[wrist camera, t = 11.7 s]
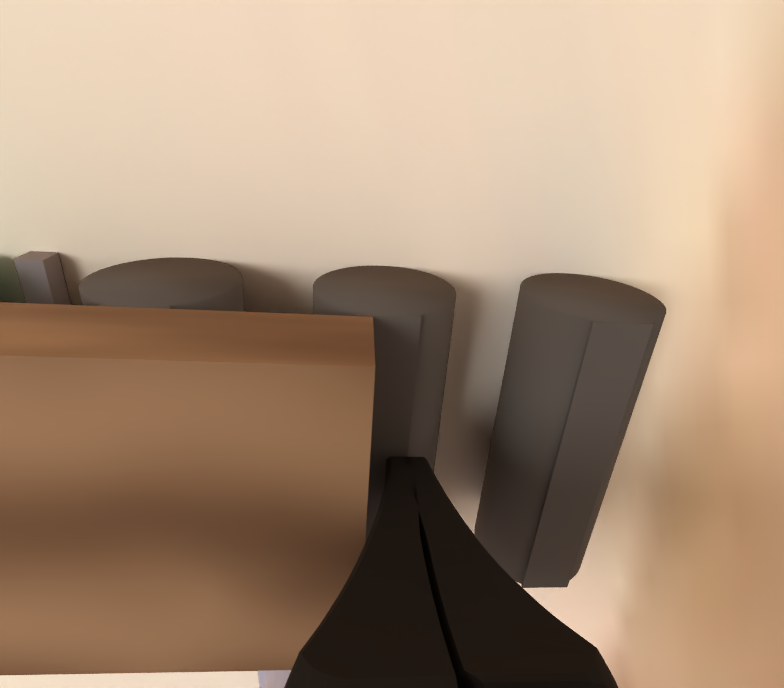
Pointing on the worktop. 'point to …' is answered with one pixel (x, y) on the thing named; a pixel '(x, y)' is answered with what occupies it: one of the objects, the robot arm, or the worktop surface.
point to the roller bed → (427, 380)
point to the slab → (177, 484)
